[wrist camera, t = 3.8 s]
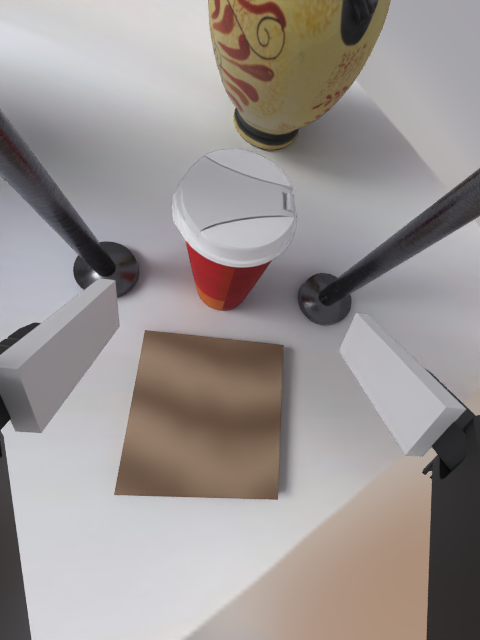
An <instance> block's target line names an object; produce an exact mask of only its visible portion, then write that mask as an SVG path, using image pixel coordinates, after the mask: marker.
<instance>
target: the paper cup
mask: <svg viewBox="0 0 480 640" xmlns="http://www.w3.org/2000/svg"><path fill="white" fill-rule="evenodd" d="M292 190H293V188H292V185H291V183H290V181H289V179H288V178H287V177H286V175H285V174H284V173H283V172H282V170H281V169H280V168H279V167H278V166H276V165H275V164H274V163H273V162H271V161H270V160H268V159H266V158H265V157H263V156H261V155H258V154H256V153H253V152H250V151H245V150H240V149H223V150H218V151H214V152H211V153H208V154H206V155H205V156H203V157H202V158H201V159H199V160H198V161H197V162H196V163H195V164H194V165H193V166H192V167H191V168H190V169H189V171H188V172H187V174H186V175H185V176H184V178H183V179H182V180H181V182H180V183H179V185H178V188H177V191H176V192H175V193H174V195H173V199H172V216H173V221H174V223H175V225H176V226H177V228H178V229H179V231H180V232H181V234H182V236H183V237H184V239H185V240H186V245H187V249H188V254H189V258H190V263H191V267H192V271H193V276H194V280H195V284H196V288H197V291H198V294H199V296H200V298H201V299H202V301H203V302H204V303H205V304H206V305H208V306H209V307H211V308H213V309H216V310H230V309H232V308H235V307H236V306H238V305H239V304H240V303H241V302H242V301H243V300H244V299H245V297H246V296H247V295H248V293H249V292H250V291H251V289H252V288H253V286H254V285H255V284H256V282H257V281H258V279H259V278H260V277H261V275H262V274H263V272H264V271H265V269H266V268H267V267H268V265H269V264H270V262H271V261H272V260H273V259H275V258H276V257H277V256H279V255H280V254H281V253H282V252H283V251H284V250H285V249H286V248H287V247H288V245H289V244H290V242H291V240H292V238H293V236H294V233H295V229H296V223H297V215H296V209H295V204H294V195H293V194H292Z"/></svg>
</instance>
